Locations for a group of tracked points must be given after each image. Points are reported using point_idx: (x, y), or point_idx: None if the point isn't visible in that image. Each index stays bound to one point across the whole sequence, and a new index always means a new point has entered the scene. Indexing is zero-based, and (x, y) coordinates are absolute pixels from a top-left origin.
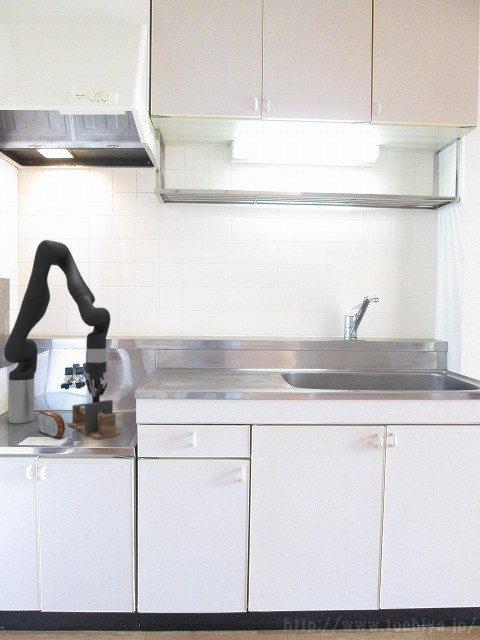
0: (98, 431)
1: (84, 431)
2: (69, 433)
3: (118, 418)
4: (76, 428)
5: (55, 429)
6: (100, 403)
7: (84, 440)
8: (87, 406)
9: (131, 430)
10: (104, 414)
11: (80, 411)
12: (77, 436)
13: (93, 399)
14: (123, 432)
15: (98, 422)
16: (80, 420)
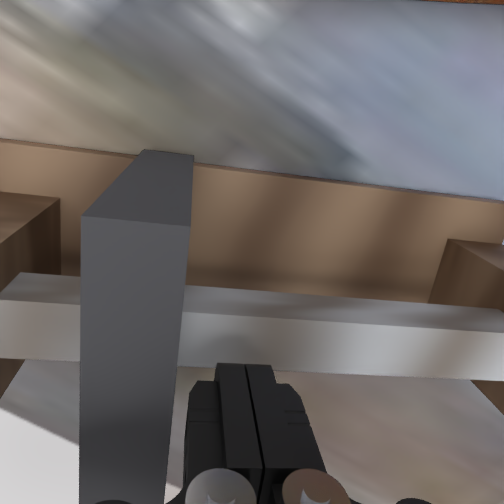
0: (47, 203)
1: (219, 168)
2: (327, 95)
3: (352, 497)
4: (360, 185)
5: None
6: (81, 424)
7: (56, 60)
8: (90, 207)
9: (50, 428)
10: (32, 344)
11: (486, 311)
12: (204, 89)
13: (244, 427)
14: (44, 372)
15: (15, 226)
16: (447, 281)
